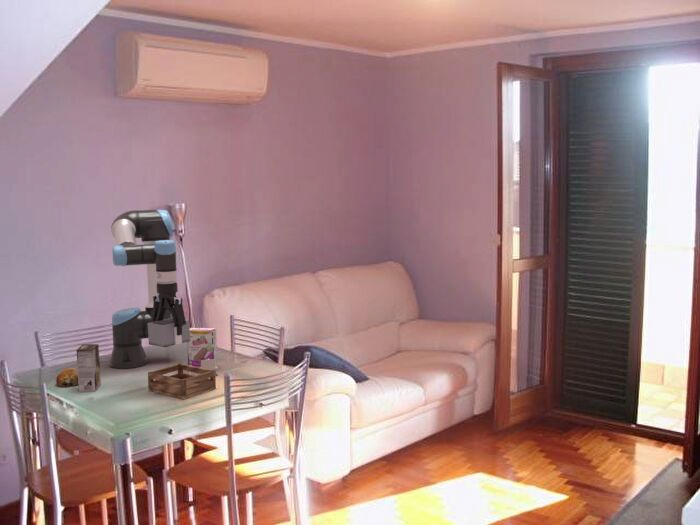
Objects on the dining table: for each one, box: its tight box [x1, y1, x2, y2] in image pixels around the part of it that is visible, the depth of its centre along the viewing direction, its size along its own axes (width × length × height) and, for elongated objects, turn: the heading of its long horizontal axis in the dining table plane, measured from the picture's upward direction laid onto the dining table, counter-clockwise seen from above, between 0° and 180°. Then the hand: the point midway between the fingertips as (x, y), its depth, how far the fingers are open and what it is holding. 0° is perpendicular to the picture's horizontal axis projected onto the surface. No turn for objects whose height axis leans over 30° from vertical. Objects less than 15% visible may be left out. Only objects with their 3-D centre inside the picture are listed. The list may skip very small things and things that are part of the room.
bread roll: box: [55, 367, 79, 388], centre depth 303 cm, size 10×10×8 cm
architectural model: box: [200, 359, 219, 371], centre depth 311 cm, size 3×7×7 cm, turn 112°
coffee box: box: [76, 343, 102, 393], centre depth 295 cm, size 9×6×16 cm
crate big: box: [147, 362, 217, 400], centre depth 293 cm, size 19×16×7 cm
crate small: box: [147, 318, 191, 348], centre depth 290 cm, size 9×12×8 cm
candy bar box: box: [186, 327, 218, 367], centre depth 322 cm, size 11×5×16 cm, turn 84°
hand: (169, 342), depth 291 cm, fingers closed on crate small, 9 cm apart
